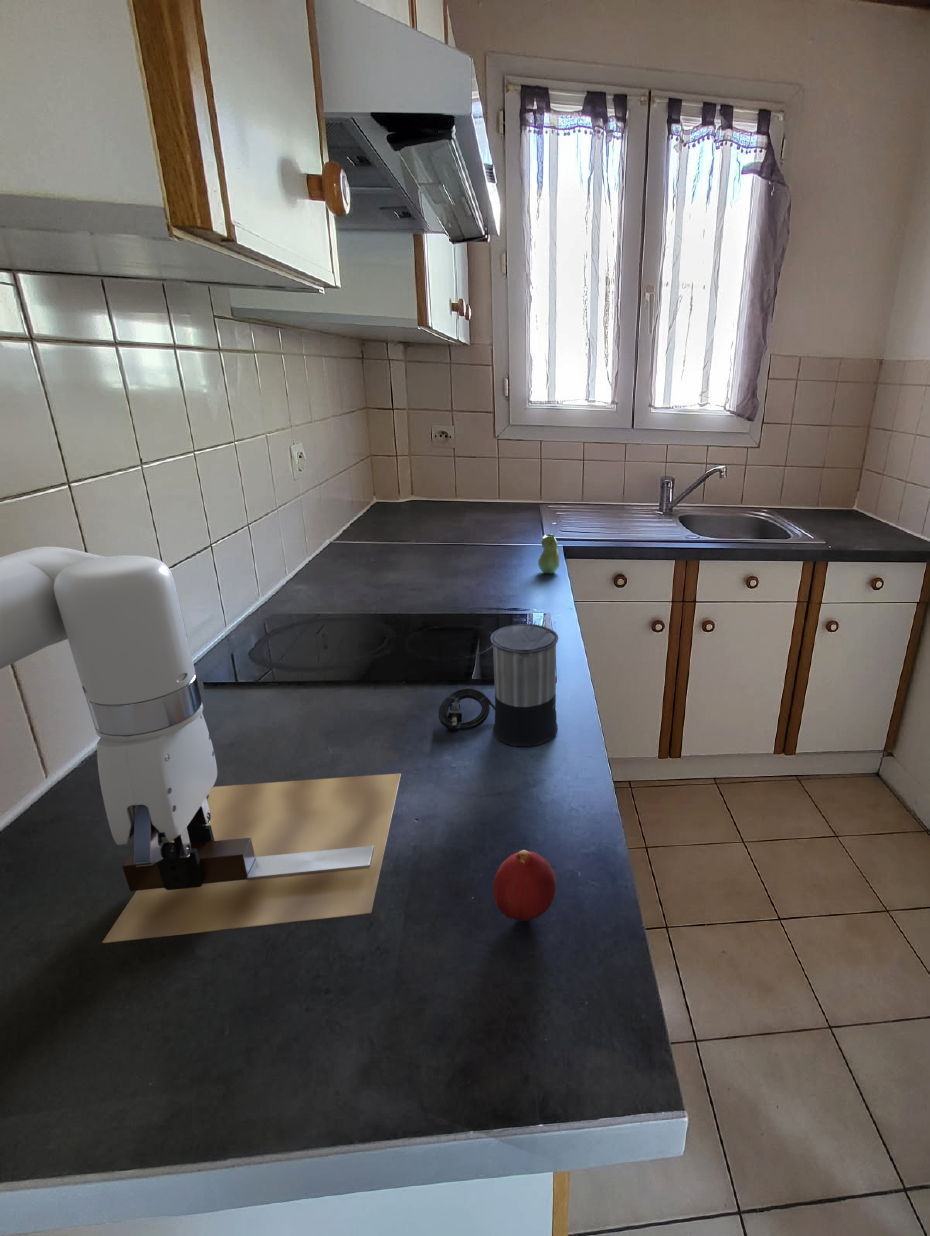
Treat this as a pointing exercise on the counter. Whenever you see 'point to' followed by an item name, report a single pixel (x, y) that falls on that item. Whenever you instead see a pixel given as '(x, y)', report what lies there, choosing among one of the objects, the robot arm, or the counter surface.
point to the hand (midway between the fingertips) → (192, 872)
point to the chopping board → (277, 827)
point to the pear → (549, 555)
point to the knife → (252, 863)
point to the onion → (524, 886)
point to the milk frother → (515, 688)
